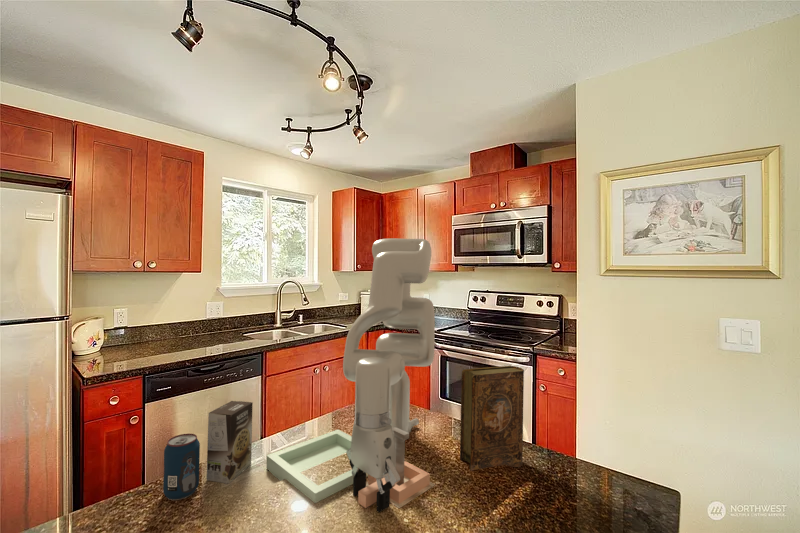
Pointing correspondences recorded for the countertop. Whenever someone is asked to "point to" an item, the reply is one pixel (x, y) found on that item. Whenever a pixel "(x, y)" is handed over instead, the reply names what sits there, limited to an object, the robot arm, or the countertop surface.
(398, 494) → the pink flat frame
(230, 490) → the countertop surface
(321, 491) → the tray
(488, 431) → the book
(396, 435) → the stake stand
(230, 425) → the coffee box
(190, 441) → the soda can
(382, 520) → the countertop surface
